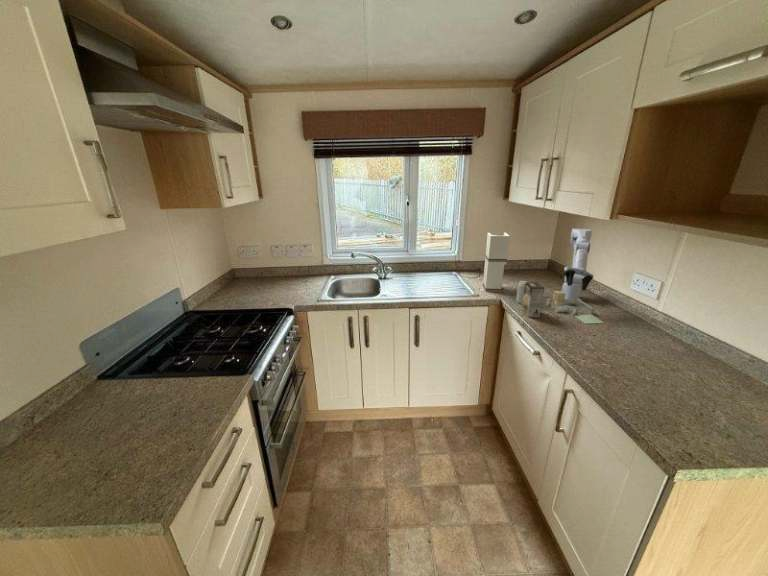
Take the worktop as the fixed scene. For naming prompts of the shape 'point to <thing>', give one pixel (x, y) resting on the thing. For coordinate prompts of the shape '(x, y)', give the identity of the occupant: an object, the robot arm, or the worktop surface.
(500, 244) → the tall white stacked column
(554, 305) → the birch block
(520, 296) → the beverage can
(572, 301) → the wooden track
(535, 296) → the coffee box
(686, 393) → the worktop surface
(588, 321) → the end pad
